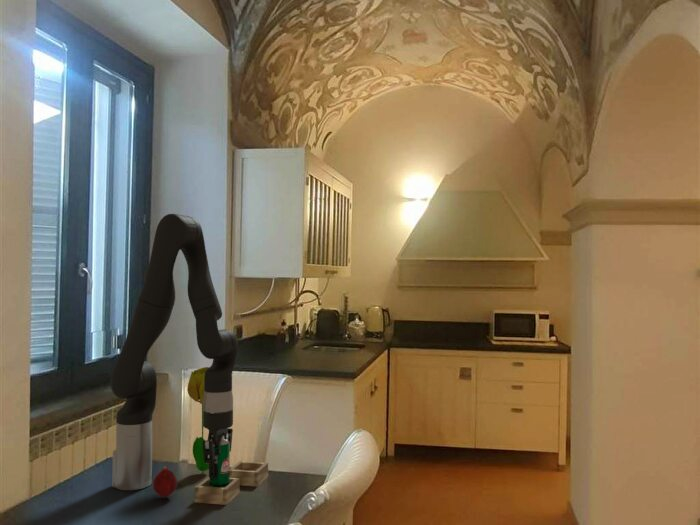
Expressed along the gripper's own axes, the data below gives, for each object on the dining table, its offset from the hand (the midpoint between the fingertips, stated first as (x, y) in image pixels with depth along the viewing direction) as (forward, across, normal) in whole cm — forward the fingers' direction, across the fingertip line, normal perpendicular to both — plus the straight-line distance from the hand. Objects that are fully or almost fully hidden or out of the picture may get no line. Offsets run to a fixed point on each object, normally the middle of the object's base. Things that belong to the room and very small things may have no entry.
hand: (218, 474), depth 157 cm
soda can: (+3, 0, 0) cm, 3 cm away
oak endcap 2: (+6, -14, +3) cm, 15 cm away
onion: (+6, +3, -13) cm, 15 cm away
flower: (+6, -17, -12) cm, 22 cm away
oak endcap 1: (+6, 0, 0) cm, 6 cm away
